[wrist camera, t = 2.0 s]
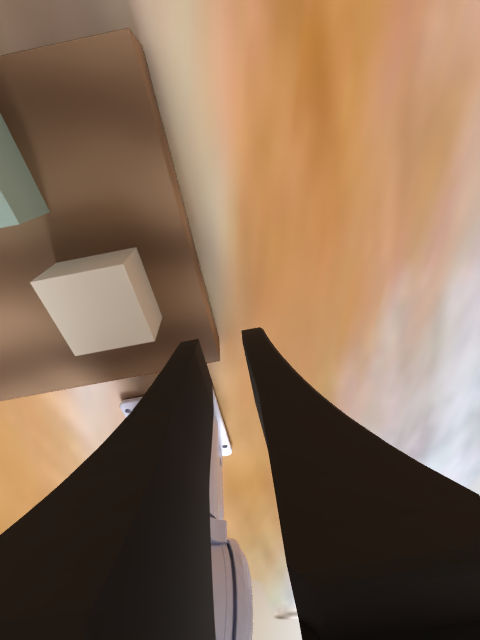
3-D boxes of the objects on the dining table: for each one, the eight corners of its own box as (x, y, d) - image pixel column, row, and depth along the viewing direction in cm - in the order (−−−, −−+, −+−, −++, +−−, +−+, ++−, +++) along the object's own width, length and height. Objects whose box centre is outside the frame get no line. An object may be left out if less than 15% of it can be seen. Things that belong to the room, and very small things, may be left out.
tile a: (162, 316, 18) (154, 341, 16) (92, 330, 18) (75, 356, 16) (136, 247, 16) (123, 263, 13) (56, 262, 16) (29, 282, 13)
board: (219, 340, 22) (219, 360, 20) (19, 378, 22) (-1, 401, 20) (142, 46, 13) (128, 27, 11) (-186, 116, 14) (-257, 112, 12)
